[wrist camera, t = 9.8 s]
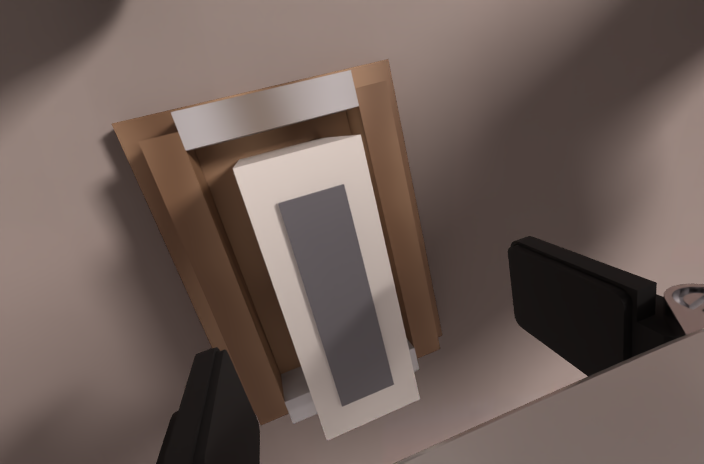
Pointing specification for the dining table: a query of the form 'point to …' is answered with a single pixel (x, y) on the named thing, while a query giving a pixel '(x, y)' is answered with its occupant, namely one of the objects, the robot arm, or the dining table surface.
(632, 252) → the dining table surface
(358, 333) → the white rectangular box
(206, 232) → the brown shallow tray
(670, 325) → the robot arm
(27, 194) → the dining table surface
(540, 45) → the dining table surface
